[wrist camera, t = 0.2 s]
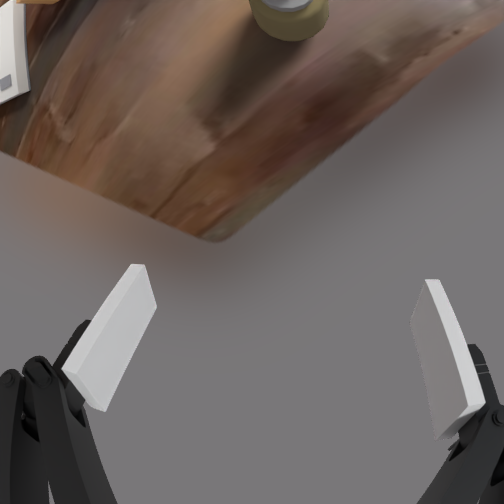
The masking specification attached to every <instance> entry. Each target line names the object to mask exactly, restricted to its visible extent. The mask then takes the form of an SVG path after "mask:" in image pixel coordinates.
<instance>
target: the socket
mask: <svg viewBox="0 0 504 504" xmlns="http://www.w3.org/2000/svg"><path fill="white" fill-rule="evenodd" d="M30 90H31V86H30V77H29V68H28V57H27V42H26V4H16V0H10V1H8V2H7V3H6V4H4V5H3V6H2V7H0V105H1V104H3V103H5V102H7V101H9V100H11V99H13V98H15V97H17V96H19V95H21V94H24V93H26V92H28V91H30Z"/></svg>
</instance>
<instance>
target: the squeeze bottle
mask: <svg viewBox="0 0 504 504" xmlns="http://www.w3.org/2000/svg"><path fill="white" fill-rule="evenodd" d="M249 2H250V6H251V9H252V13H253V16H254V18H255V20H256V22H257V24H258V25H259V27H260V28H261V29H262V30H264V31H265V32H266V33H267V34H269V35H270V36H272V37H275V38H278V39H280V40H283V41H301V40H304V39H307V38H310V37H313V36H314V35H316V34H317V33H318V32H319V31H320V30H321V29H323V28H324V26H325V23H326V21H327V19H328V17H329V5H328V0H249Z"/></svg>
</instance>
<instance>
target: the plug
mask: <svg viewBox="0 0 504 504" xmlns="http://www.w3.org/2000/svg"><path fill="white" fill-rule="evenodd" d="M58 1H60V0H16V4H54V3H56V2H58Z"/></svg>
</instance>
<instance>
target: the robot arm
mask: <svg viewBox="0 0 504 504" xmlns="http://www.w3.org/2000/svg"><path fill="white" fill-rule="evenodd" d="M156 308H157V306H156V302H155V299H154V295H153V292H152V289H151V286H150V282H149V278H148V275H147V271H146V268H145V265H139V264H131V265H130V267H129V268H128V269H127V271H126V272H125V274H124V275H123V276H122V278H121V279H120V281H119V282H118V283H117V285H116V286H115V287H114V289H113V290H112V292H111V293H110V295H109V296H108V297H107V299H106V300H105V302H104V303H103V305H102V306H101V308H100V309H99V311H98V312H97V314H96V315H95V317H94V318H93V320H92V321H91V320H85V321H84V322H83V323H82V324H80V325H79V326H78V327H77V329H76V330H75V332H74V333H73V335H72V337H71V338H70V339H69V341H68V344H66V345H65V347H64V348H63V350H62V351H61V353H60V355H59V356H58V358H57V360H56V361H55V363H54V364H53V366H51V364H50V363H49V362H48V360H47V359H46V358H45V357H43V356H35V357H33V358H31V359H29V360H28V361H27V362H26V363H25V365H24V367H23V370H22V374H23V375H24V376H25V377H22V376H21V374H20V373H19V372H18V371H17V370H15V369H9V370H7V371H5V372H4V373H3V374H2V375H1V377H0V504H49V493H48V492H49V491H48V481H49V485H50V488H51V492H52V495H53V499H54V502H55V504H117V501H116V499H115V497H114V494H113V492H112V489H111V487H110V485H109V482H108V479H107V477H106V474H105V472H104V469H103V466H102V464H101V461H100V457H99V455H98V452H97V449H96V446H95V442H94V439H93V436H92V433H91V429H90V426H89V422H88V419H87V415H86V412H85V409H84V407H83V404H84V402H85V400H86V402H87V403H88V404H89V405H90V406H91V407H92V408H95V409H98V410H101V411H104V412H105V411H106V409H107V407H108V405H109V403H110V401H111V398H112V397H113V394H114V392H115V390H116V388H117V386H118V384H119V382H120V379H121V378H122V375H123V373H124V371H125V369H126V367H127V365H128V363H129V361H130V359H131V357H132V355H133V353H134V351H135V349H136V347H137V345H138V343H139V341H140V339H141V337H142V335H143V333H144V331H145V329H146V327H147V325H148V323H149V322H150V320H151V318H152V316H153V314H154V312H155V310H156ZM410 326H411V329H412V333H413V337H414V340H415V344H416V348H417V352H418V356H419V360H420V364H421V368H422V373H423V377H424V382H425V387H426V391H427V396H428V401H429V407H430V412H431V417H432V423H433V429H434V436H435V440H436V441H437V440H443V439H449V438H452V437H453V436H454V435H455V434H456V433H457V432H458V433H459V439H458V440H457V441H456V442H455V443H454V444H453V445H451V446H450V448H449V449H448V450H449V451H450V450H451V449H452V448H453V449H452V451H451V452H450V454H449V456H448V457H447V459H446V461H445V462H444V464H443V466H442V467H441V469H440V470H439V472H438V474H437V475H436V477H435V478H434V480H433V481H432V483H431V484H430V486H429V487H428V489H427V490H426V492H425V493H424V494H423V496H422V497H421V498H420V500H419V501H418V503H417V504H477V502H478V500H479V499H480V500H479V504H504V406H503V405H501V404H500V403H499V400H498V397H497V394H496V390H495V387H494V384H493V381H492V378H491V375H490V374H489V370H488V367H487V365H486V362H485V359H484V356H483V354H482V352H481V351H480V349H479V348H478V347H477V346H476V345H475V344H468V345H467V344H466V342H465V339H464V336H463V334H462V331H461V329H460V327H459V324H458V321H457V319H456V317H455V314H454V312H453V309H452V307H451V305H450V303H449V300H448V298H447V296H446V294H445V291H444V289H443V287H442V285H441V283H440V281H439V280H433V279H430V280H429V279H425V281H424V284H423V287H422V290H421V293H420V295H419V298H418V301H417V304H416V306H415V309H414V312H413V314H412V317H411V319H410ZM21 417H22V418H21Z"/></svg>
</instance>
